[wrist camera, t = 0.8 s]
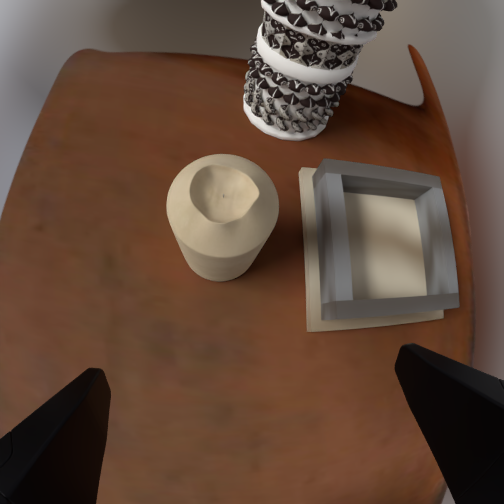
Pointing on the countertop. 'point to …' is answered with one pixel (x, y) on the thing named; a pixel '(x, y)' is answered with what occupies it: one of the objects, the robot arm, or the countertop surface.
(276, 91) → the decorative candle
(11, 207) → the countertop surface
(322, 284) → the square tray
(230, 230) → the candle
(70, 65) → the countertop surface
